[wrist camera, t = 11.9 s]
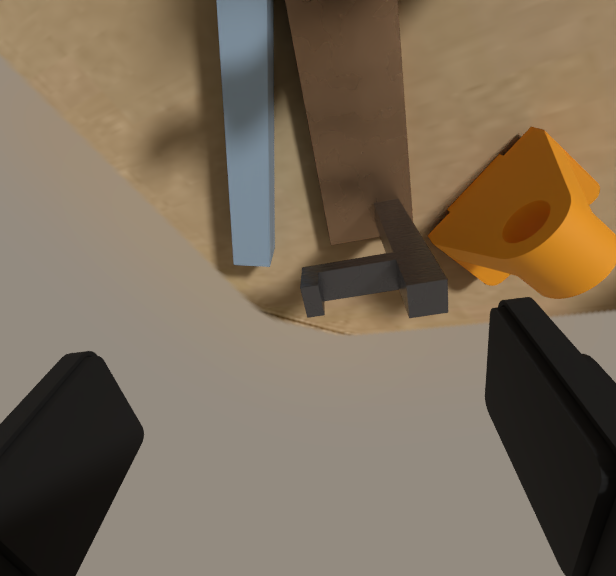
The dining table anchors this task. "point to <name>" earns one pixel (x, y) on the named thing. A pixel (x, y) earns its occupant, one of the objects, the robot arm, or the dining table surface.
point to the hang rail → (249, 124)
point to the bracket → (530, 222)
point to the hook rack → (361, 153)
